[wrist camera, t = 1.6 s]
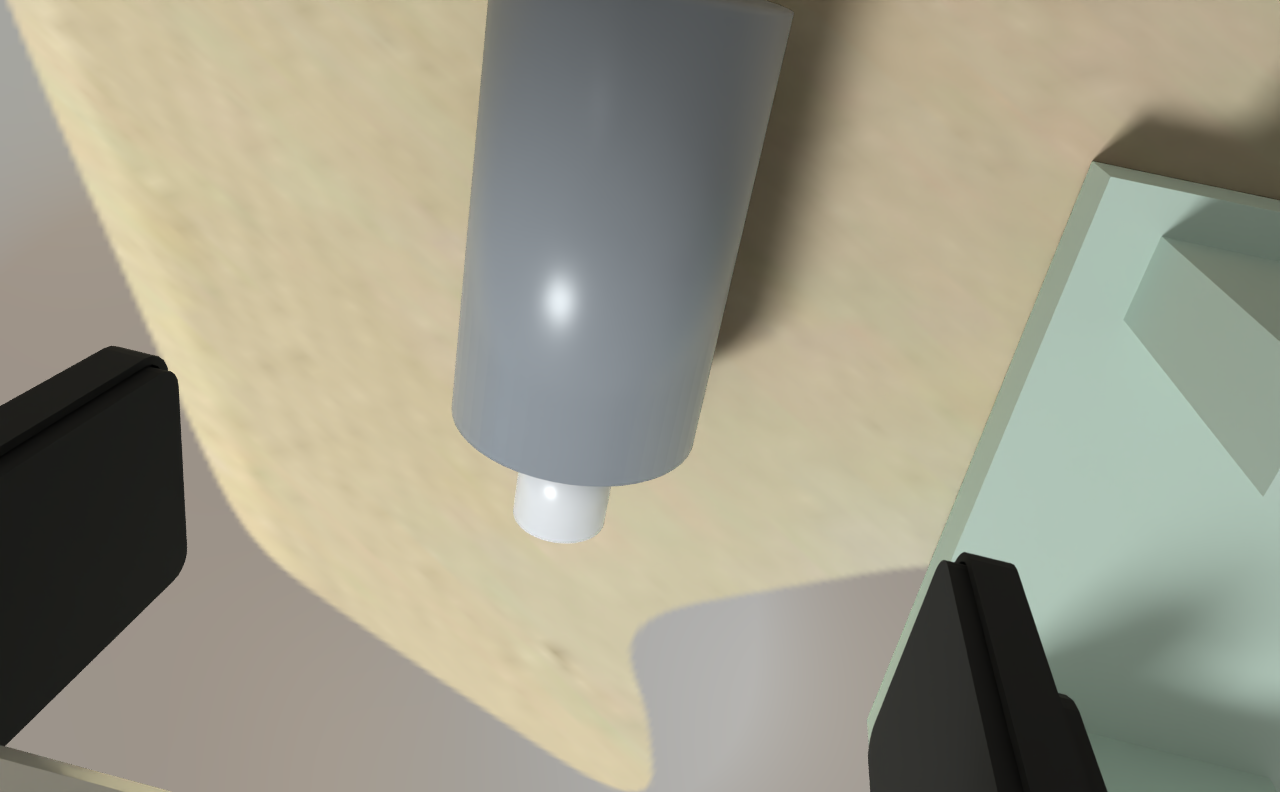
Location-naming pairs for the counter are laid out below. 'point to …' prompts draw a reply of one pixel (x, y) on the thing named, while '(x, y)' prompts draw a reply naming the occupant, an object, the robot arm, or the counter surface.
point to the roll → (605, 237)
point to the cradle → (1146, 482)
